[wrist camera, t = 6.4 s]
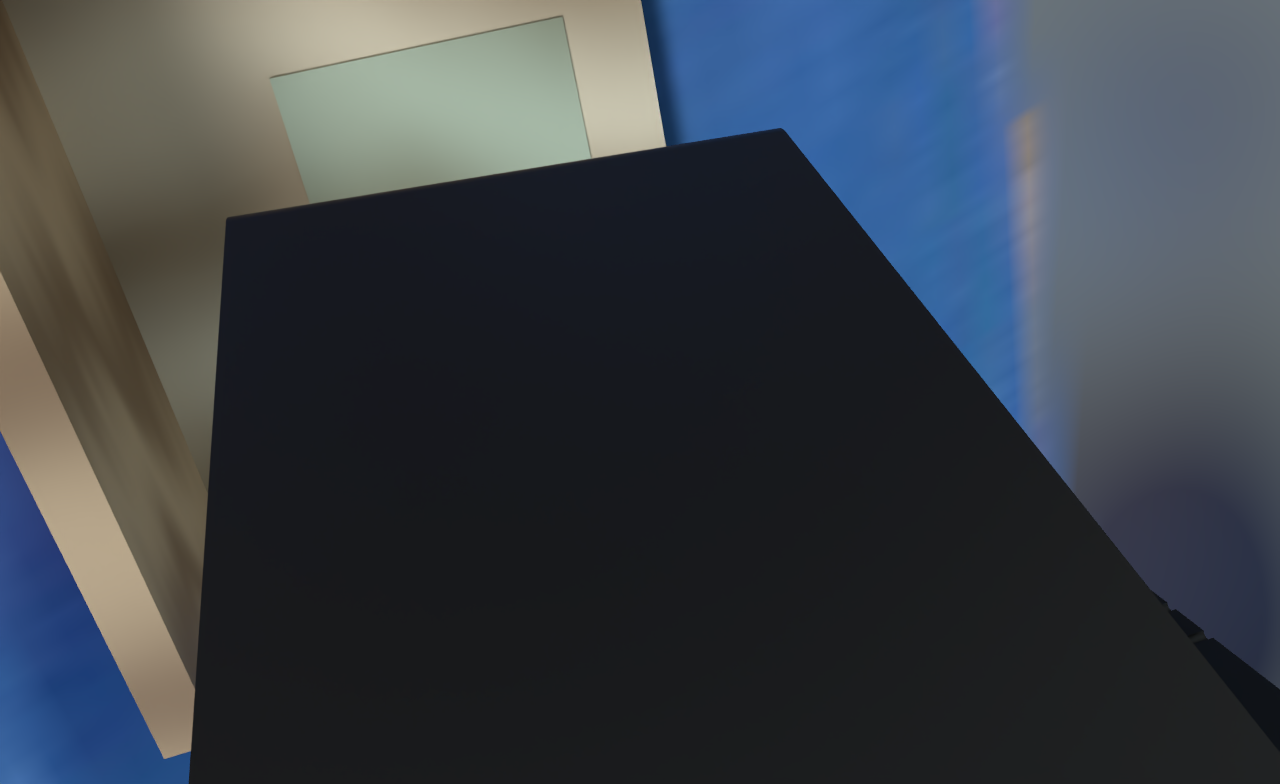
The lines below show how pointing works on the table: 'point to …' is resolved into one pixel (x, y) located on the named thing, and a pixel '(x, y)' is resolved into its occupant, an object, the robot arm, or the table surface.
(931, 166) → the table surface
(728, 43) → the table surface
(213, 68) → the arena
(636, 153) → the phone stand
